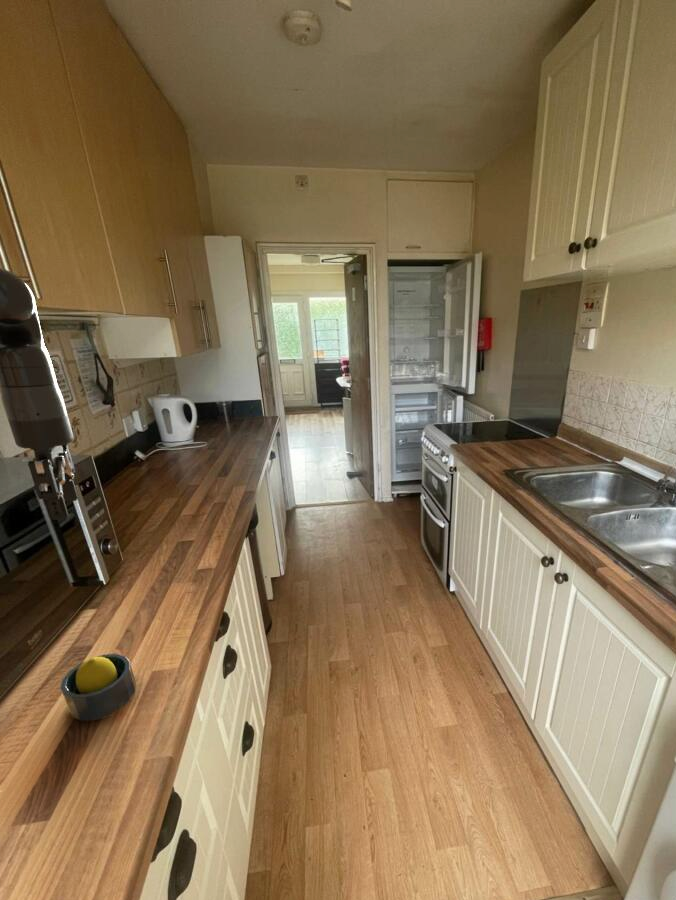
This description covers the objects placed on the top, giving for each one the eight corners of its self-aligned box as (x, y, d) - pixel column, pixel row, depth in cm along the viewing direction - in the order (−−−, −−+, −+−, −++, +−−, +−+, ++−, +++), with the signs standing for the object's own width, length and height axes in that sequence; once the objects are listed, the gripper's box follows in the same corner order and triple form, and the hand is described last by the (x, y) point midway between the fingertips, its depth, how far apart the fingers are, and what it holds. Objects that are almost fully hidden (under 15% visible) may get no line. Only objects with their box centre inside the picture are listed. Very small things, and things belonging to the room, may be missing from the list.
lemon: (74, 707, 69) (60, 669, 66) (101, 681, 74) (89, 645, 71) (104, 713, 68) (92, 674, 65) (129, 686, 73) (119, 649, 70)
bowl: (56, 724, 66) (46, 698, 64) (91, 678, 75) (83, 654, 73) (118, 722, 67) (110, 696, 65) (146, 677, 76) (140, 653, 73)
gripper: (56, 421, 62) (85, 522, 69) (74, 405, 74) (97, 492, 81) (-9, 424, 59) (27, 529, 66) (21, 407, 71) (49, 498, 78)
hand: (66, 509), depth 73 cm, fingers open, 8 cm apart
